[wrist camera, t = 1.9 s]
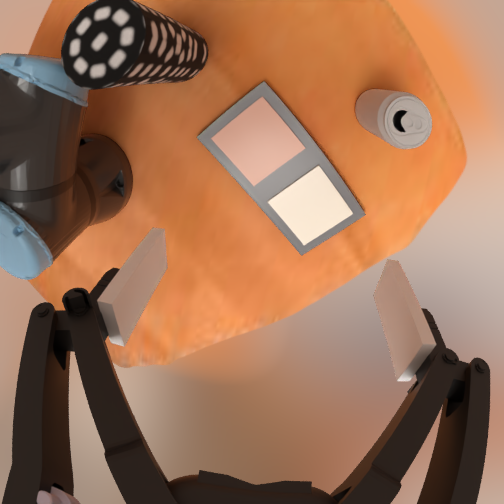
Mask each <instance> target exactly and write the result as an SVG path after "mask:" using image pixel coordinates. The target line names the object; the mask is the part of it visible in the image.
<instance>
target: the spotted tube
mask: <svg viewBox="0 0 504 504" xmlns="http://www.w3.org/2000/svg"><path fill="white" fill-rule="evenodd" d="M207 57H208V47H207V44H206V42H205V40H204V38H203V37H202V36H201V35H200V34H199V33H197V32H196V31H194V30H192V29H190V28H189V27H187V26H185V25H183V24H181V23H179V22H177V21H175V20H173V19H171V18H169V17H167V16H165V15H163V14H161V13H159V12H157V11H155V10H153V9H151V8H149V7H146V6H144V5H142V4H140V3H137V2H135V1H133V0H96V1H94V2H92V3H91V4H89V5H87V6H86V7H85V8H84V9H82V10H81V11H80V12H79V13H78V15H77V16H76V17H75V18H74V19H73V21H72V22H71V24H70V25H69V27H68V29H67V31H66V33H65V36H64V39H63V43H62V50H61V60H62V64H63V68H64V71H65V73H66V75H67V76H68V78H69V79H70V80H71V81H72V82H73V83H74V84H75V85H77V86H79V87H81V88H85V89H89V90H90V89H103V88H111V87H119V86H129V85H140V84H154V83H175V82H183V81H187V80H189V79H191V78H193V77H194V76H196V75H197V74H198V73H199V72H200V71H201V70H202V69H203V67H204V65H205V63H206V61H207Z"/></svg>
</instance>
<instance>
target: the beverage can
mask: <svg viewBox="0 0 504 504" xmlns="http://www.w3.org/2000/svg"><path fill="white" fill-rule="evenodd" d="M355 113H356V117H357V120H358V121H359V123H360V124H361V126H362V127H363V128H365V129H366V130H367V131H369V132H371V133H373V134H374V135H376V136H378V137H379V138H381V139H383V140H384V141H386V142H387V143H389V144H391V145H392V146H394V147H396V148H400V149H411V148H416V147H419V146H420V145H422V144H423V143H424V142H425V141H426V140H427V139H428V137H429V135H430V133H431V129H432V118H431V115H430V112H429V110H428V108H427V107H426V106H425V104H424V103H423V102H422V101H421V100H420V99H419V98H418V97H416V96H415V95H413V94H410V93H407V92H400V91H392V90H383V89H370V90H367V91H365V92H364V93H362V94H361V95H360V97H359V98H358V100H357V102H356V106H355Z"/></svg>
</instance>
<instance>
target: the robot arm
mask: <svg viewBox="0 0 504 504" xmlns="http://www.w3.org/2000/svg"><path fill="white" fill-rule="evenodd" d="M88 92H89V89H85V88H81V87H79V86H77V85H75V84H74V83H73V82H72V81H71V80H70V79H69V78H68V76H67V75H66V73H65V71H64V68H63V64H62V60H61V59H58V58H52V57H45V56H37V55H27V54H9V53H6V54H5V53H4V54H2V55H0V266H1V267H2V268H3V269H4V270H6V271H7V272H8V273H10V274H11V275H13V276H15V277H17V278H20V279H25V280H29V279H33V278H35V277H37V276H38V275H39V274H41V273H42V272H43V271H44V270H45V269H46V268H47V267H50V266H51V265H52V264H53V261H54V260H55V259H56V258H57V257H58V256H59V255H60V254H61V253H62V252H63V251H64V250H65V249H66V248H67V247H68V246H69V245H70V244H71V243H72V242H73V241H74V240H75V239H76V238H77V237H78V236H79V235H80V234H81V233H82V232H83V231H84V230H85V229H86V228H87V227H88V226H91V225H94V224H98V223H101V222H104V221H107V220H109V219H111V218H113V217H114V216H115V215H116V214H118V213H119V212H120V211H121V210H122V209H123V208H124V206H125V205H126V204H127V202H128V200H129V198H130V195H131V191H132V172H131V168H130V165H129V162H128V160H127V158H126V156H125V154H124V152H123V151H122V150H121V148H120V147H119V146H118V145H117V144H116V143H115V142H114V141H112V140H111V139H109V138H107V137H105V136H103V135H99V134H86V135H83V136H81V133H82V127H83V121H84V116H85V111H86V107H88V102H87V98H88ZM166 269H167V256H166V241H165V229H161V228H152V229H151V230H150V232H149V233H148V234H147V235H146V237H145V238H144V239H143V240H142V242H141V243H140V244H139V245H138V247H137V248H136V249H135V250H134V252H133V253H132V254H131V255H130V257H129V258H128V259H127V261H126V262H125V263H124V265H123V266H122V267H121V269H118V268H112V269H111V270H109V271H107V272H106V273H105V274H104V275H103V277H102V278H101V280H100V281H99V282H98V283H97V285H96V286H95V287H94V288H93V290H92V291H91V292H90V294H89V293H88V291H87V290H85V289H84V288H73V289H71V290H69V291H68V292H66V293H65V294H64V296H63V298H62V302H63V305H64V307H65V310H64V311H55V308H54V306H53V305H52V304H51V303H47V302H44V303H41V304H39V305H37V306H36V307H35V308H34V309H33V310H32V312H31V316H30V320H29V324H28V328H27V332H26V337H25V341H24V346H23V351H22V357H21V362H20V368H19V374H18V381H17V388H16V397H15V407H14V419H13V439H12V440H13V441H12V466H11V470H10V473H9V477H8V481H7V484H6V488H5V493H4V497H3V501H2V504H80V503H79V501H78V500H77V499H76V498H74V497H73V488H74V484H73V471H72V463H71V451H70V437H69V409H68V408H69V407H68V406H69V404H68V403H69V400H68V397H69V396H68V394H69V365H70V351H75V355H76V360H77V364H78V368H79V372H80V376H81V380H82V383H83V387H84V390H85V394H86V397H87V400H88V404H89V407H90V410H91V413H92V416H93V419H94V422H95V425H96V427H97V430H98V433H99V435H100V438H101V441H102V443H103V446H104V449H105V458H106V461H107V464H108V466H109V469H110V471H111V473H112V475H113V477H114V480H115V482H116V484H117V486H118V488H119V490H120V492H121V494H122V496H123V498H124V500H125V502H126V504H390V503H391V502H392V501H393V499H394V498H395V496H396V495H397V494H398V492H399V490H400V488H401V483H400V482H401V480H402V478H403V476H404V475H405V473H406V472H407V470H408V469H409V467H410V465H411V464H412V462H413V460H414V459H415V457H416V455H417V454H418V452H419V450H420V448H421V446H422V445H423V443H424V441H425V439H426V437H427V435H428V434H429V432H430V430H431V428H432V426H433V424H434V422H435V420H436V418H437V416H438V413H439V411H440V409H441V407H442V405H443V407H442V413H441V418H440V424H439V428H438V433H437V438H436V442H435V446H434V450H433V454H432V458H431V461H430V465H429V469H428V472H427V475H426V478H425V482H424V485H423V488H422V491H421V494H420V497H419V499H418V502H417V504H476V502H477V498H478V494H479V489H480V484H481V479H482V474H483V468H484V462H485V455H486V447H487V438H488V428H489V412H490V369H489V366H488V364H487V363H486V362H485V361H484V360H483V359H481V358H474V359H473V360H472V361H471V362H470V363H466V362H462V361H459V359H458V356H457V355H456V353H455V352H453V351H452V350H450V349H448V348H446V346H445V343H444V341H443V339H442V337H441V334H440V332H439V330H438V327H437V325H436V324H435V321H434V318H433V316H432V315H431V313H430V312H429V311H428V310H427V309H422V308H421V307H420V305H419V302H418V300H417V298H416V296H415V294H414V292H413V289H412V288H411V285H410V283H409V281H408V279H407V277H406V275H405V273H404V271H403V269H402V267H401V265H400V263H399V261H395V260H387V262H386V264H385V267H384V270H383V272H382V275H381V277H380V280H379V282H378V285H377V288H376V290H375V292H374V295H373V296H374V299H375V303H376V306H377V309H378V312H379V316H380V319H381V322H382V326H383V329H384V333H385V336H386V340H387V344H388V347H389V351H390V355H391V359H392V363H393V366H394V371H395V375H396V379H397V381H410V380H411V378H412V377H413V376H414V375H415V374H416V377H417V381H416V382H415V383H414V384H413V386H412V387H411V388H410V389H409V391H408V395H407V397H406V398H405V400H404V401H403V403H402V405H401V406H400V408H399V409H398V411H397V412H396V414H395V415H394V417H393V418H392V420H391V421H390V423H389V424H388V426H387V427H386V429H385V430H384V432H383V433H382V434H381V436H380V437H379V439H378V440H377V441H376V443H375V444H374V445H373V447H372V448H371V449H370V451H369V452H368V453H367V455H366V456H365V457H364V458H363V460H362V461H361V462H360V463H359V465H358V466H357V467H356V468H355V469H354V471H353V472H352V473H351V474H350V475H349V477H348V478H347V479H346V480H345V481H344V482H343V483H342V484H341V485H340V486H339V487H338V488H337V489H336V490H334V492H332V493H331V495H329V494H328V493H326V492H324V491H322V490H320V489H318V488H315V487H311V484H312V482H306V481H305V482H304V481H302V482H300V481H281V482H275V483H267V484H260V485H254V484H250V483H248V482H245V481H242V480H239V479H237V478H234V477H231V476H229V475H224V474H218V473H212V472H207V471H202V470H200V471H199V475H188V476H183V477H179V478H177V479H174V480H172V481H170V482H168V480H167V478H166V477H165V475H164V473H163V472H162V470H161V468H160V466H159V465H158V463H157V462H156V460H155V458H154V456H153V454H152V452H151V450H150V448H149V446H148V444H147V442H146V440H145V439H144V436H143V434H142V432H141V430H140V428H139V426H138V424H137V422H136V420H135V417H134V415H133V413H132V411H131V408H130V406H129V404H128V401H127V399H126V397H125V394H124V392H123V389H122V387H121V384H120V382H119V379H118V377H117V374H116V371H115V369H114V366H113V363H112V360H111V357H110V355H109V352H108V349H107V346H106V343H105V340H106V338H107V336H109V339H110V341H111V343H113V344H117V345H121V346H124V347H125V345H126V343H127V341H128V339H129V337H130V335H131V333H132V331H133V329H134V328H135V326H136V324H137V322H138V320H139V318H140V316H141V314H142V313H143V311H144V309H145V307H146V305H147V303H148V301H149V300H150V298H151V296H152V294H153V292H154V291H155V289H156V287H157V285H158V283H159V282H160V280H161V278H162V276H163V275H164V273H165V271H166Z"/></svg>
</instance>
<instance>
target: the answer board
mask: <svg viewBox="0 0 504 504" xmlns="http://www.w3.org/2000/svg"><path fill="white" fill-rule="evenodd" d="M197 138H198V139H199V140H200V142H201V143H202V144H203V145H204V146H205V147H206V148H207V149H208V150H209V151H210V152H211V153H212V155H213V156H214V157H215V158H216V159H217V160H218V161H219V162H220V163H221V164H222V165H223V167H224V168H225V169H226V170H227V171H228V172H229V173H230V174H231V175H232V177H233V178H234V179H235V180H236V181H237V182H238V183H239V184H240V185H241V187H242V188H243V189H244V190H245V191H246V192H247V193H248V194H249V196H250V197H251V198H252V199H253V200H254V201H255V202H256V203H257V205H258V206H259V207H260V208H261V209H262V210H263V211H264V213H265V214H266V215H267V216H268V217H269V218H270V219H271V221H272V222H273V223H274V224H275V225H276V226H277V227H278V229H279V230H280V231H281V232H282V233H283V234H284V236H285V237H286V238H287V239H288V240H289V241H290V243H291V244H292V245H293V246H294V247H295V248H296V250H297V251H298V252H299V253H300V254H301V255H303V254H305V253H307V252H308V251H310V250H311V249H313V248H315V247H316V246H318V245H319V244H321V243H322V242H324V241H326V240H327V239H329V238H330V237H332V236H334V235H335V234H337V233H338V232H340V231H341V230H343V229H345V228H346V227H348V226H349V225H351V224H352V223H354V222H355V221H357V220H359V219H360V218H362V217H363V216H365V215H366V214H365V213H364V211H363V209H362V208H361V206H360V205H359V203H358V202H357V200H356V199H355V197H354V196H353V194H352V193H351V191H350V190H349V188H348V187H347V185H346V184H345V183H344V181H343V180H342V178H341V177H340V175H339V174H338V173H337V171H336V170H335V168H334V167H333V166H332V164H331V163H330V161H329V160H328V159H327V157H326V156H325V155H324V153H323V152H322V151H321V149H320V148H319V147H318V145H317V144H316V143H315V141H314V140H313V139H312V138H311V136H310V135H309V134H308V132H307V131H306V130H305V129H304V127H303V126H302V125H301V124H300V122H299V121H298V120H297V119H296V117H295V116H294V115H293V114H292V113H291V111H290V110H289V109H288V108H287V107H286V105H285V104H284V103H283V102H282V101H281V99H280V98H279V97H278V96H277V95H276V94H275V93H274V91H273V90H272V89H271V88H270V87H269V86H268V85H267V83H266V82H265V81H263V82H262V83H261V84H259V85H258V86H257V87H256V88H254V89H253V90H252V91H250V92H249V93H248V94H247V95H245V96H244V97H243V98H242V99H240V100H239V101H238V102H237V103H236V104H234V105H233V106H232V107H231V108H230V109H228V110H227V111H226V112H225V113H224V114H222V115H221V116H220V117H219V118H218V119H217V120H215V121H214V122H213V123H212V124H211V125H210V126H209V127H207V128H206V129H205V130H204V131H203V132H202V133H201V134H200V135H199V136H197Z"/></svg>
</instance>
